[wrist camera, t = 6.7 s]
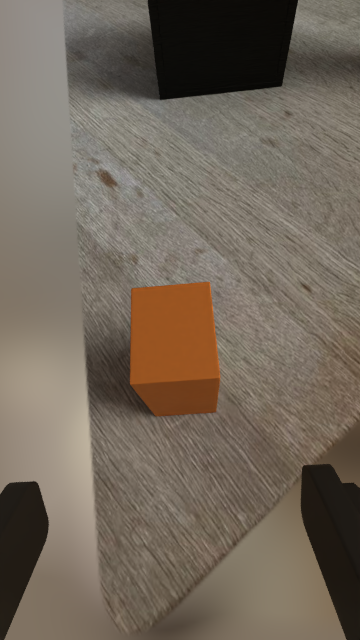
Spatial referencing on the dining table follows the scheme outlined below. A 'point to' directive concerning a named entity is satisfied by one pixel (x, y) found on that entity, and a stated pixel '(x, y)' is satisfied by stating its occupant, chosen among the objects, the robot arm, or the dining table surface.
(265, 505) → the dining table surface
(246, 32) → the bin
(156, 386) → the block
